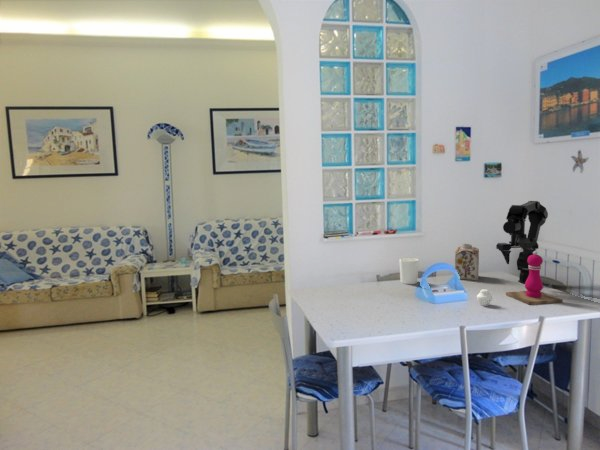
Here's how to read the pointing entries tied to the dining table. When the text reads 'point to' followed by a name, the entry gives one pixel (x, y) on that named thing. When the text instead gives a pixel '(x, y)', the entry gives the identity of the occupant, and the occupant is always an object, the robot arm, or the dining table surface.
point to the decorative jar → (467, 262)
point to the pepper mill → (534, 276)
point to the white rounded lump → (484, 297)
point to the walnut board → (534, 298)
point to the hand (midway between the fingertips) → (516, 263)
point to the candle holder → (408, 270)
